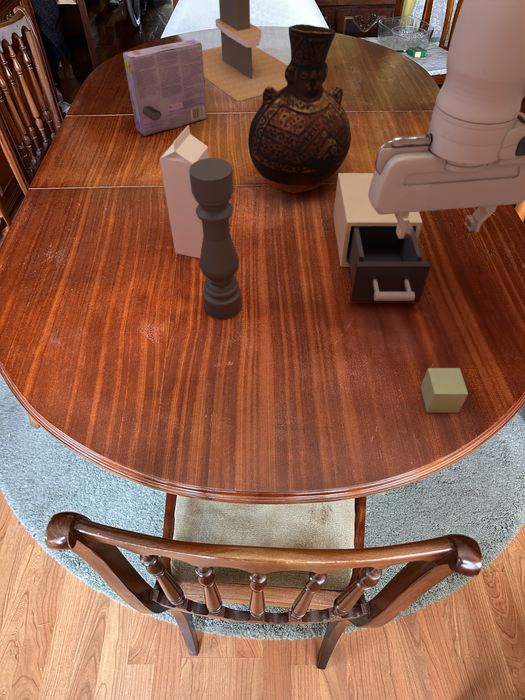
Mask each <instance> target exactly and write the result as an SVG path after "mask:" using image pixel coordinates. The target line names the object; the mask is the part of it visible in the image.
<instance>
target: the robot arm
mask: <svg viewBox="0 0 525 700" xmlns="http://www.w3.org/2000/svg"><path fill="white" fill-rule="evenodd" d="M445 64H446V72H445V73H446V74H445V78H444V81H443V84H442V86H441V87H440V88H439V89H440V90H439V91H438V93H437V95H436V98H435V103H434V105H433V106H434V107H433V111H432V113H431V117H430V122H429V126H428V129H427V133H424V134H415V135H408V136H404V135H396V136H393V137H391V139H390V140H388V141H386V142H384V143H383V144H382V145H380V146H379V147H378V149H377V151H376V156H375V163H374V168H375V169H374V172H373V173H374V174H373V177H372V181H371V184H370V188H369V193H368V197H369V200H370V203H371V205H372V206H373V208H374V209H375V211H376V212H377V213H378V214H380V215H384V214H395V217H396V219H397V221H398V224H397V229H396V234H397V236H398V238H399V239H402V238H410V237H411V233H412V231H413V227H412V225H410V222H409V220H405V221H404V219H403V218H408V216H409V212H419V213H420V212H431V211H432V212H433V211H444V210H445V211H447V210H457V209H469V208H471V209H472V208H477V209H476V210H475V211H474V212H473V213H472V214H467V215H465V218H464V222H463V225H462V227H463V230H465V233H467V234H468V233H479V231H480V229H481V226H482V224H483V223H484V222H485V221H486V220H487V219H489V218H490V217H491V216H492V215H493V214H494V213H495V212H496V210H497V208H498V206H507V205H520V204H522V203H523V202H524V201H525V113H524V112H522V111H521V109H522V101H523V99H524V98H525V0H463V1H462V3H461V7H460V9H459V13H458V16H457V19H456V22H455V25H454V29H453V32H452V36H451V40H450V43H449V47H448V51H447V55H446V63H445Z"/></svg>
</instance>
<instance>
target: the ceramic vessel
mask: <svg viewBox="0 0 525 700" xmlns="http://www.w3.org/2000/svg"><path fill="white" fill-rule="evenodd" d="M335 36H336V31H335V30H334V29H333V28H327V27H324V26H316V25H311V24H304V23H303V24H302V23H300V24H294V25H290V26H289V27H288V38H289V44H290V61H289V63H288V64H287V65H288V66H287V68H286V70H285V79H286V81H287V86H286V87H284V88H282V89H281V90H278V91H277V90H275V89H274V88H273V87H271V86H267V87H266V88H265V89H264V92H263V95H262V101H261V102H262V103H261V106H259V108H258V109H257V111H256V112H255V114H254V116H253V118H252V119H251V121H250V125H249V130H248V138H247V139H248V141H247V142H248V152H249V156H250V159H251V161H252V164H253V166H254V168H255V170H256V171H257V172H258V174H259V175H260V176H261V177H262V179H263V180H265V182H266V183H268V184H269V185H271V186H272V187H274V188H275V189H278V190H280V191H283V192H286V193H293V194H297V193H305V192H309V191H312V190H315V189H316V188H318V187H319V186H321V185H322V184H325V182H327V181H328V180H329V179H331V178H332V177H333V176H334V175H335V174H336V173H337V171H339V169H340V167H342V165H343V163H344V162H345V159H346V158H347V156H348V154H349V151H350V148H351V144H352V132H351V124H350V120H349V117H348V116H347V113H346V111H345V109H344V108H343V106H342V101H343V96H344V89H343V88H342V87H339V86H335V87H333V88H330V89H326V88H324V87H323V84H324V83H325V81H326V79H327V77H328V70H329V66H328V63H327V62H326V60H327V58H328V54H329V50H330V48H331V46H332V43H333V41H334V39H335Z"/></svg>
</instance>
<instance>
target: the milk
mask: <svg viewBox="0 0 525 700" xmlns="http://www.w3.org/2000/svg"><path fill="white" fill-rule="evenodd" d="M209 155H210V154H209V147H208V146H207V145H206V144H205V143H204V142H202V141H201V140H200V139H198V138H196V136H194V135H193V134H191V129H190V125H187V126H186V127H185V128H184V129H183V130H182V131H181V133H180V134H179V135H178V136H177V137H176V139H174V141H173V143H172V144H171V145H169V147H168V148H167V150H166V151H165V152H164V153H163V154H162V155H161V156H160V158H159V165H160V170H161V177H162V181H163V182H162V183H163V189H164V194H165V201H166V205H167V212H168V218H169V223H170V230H171V236H172V242H173V248H174V253H175V254H177V255H182V256H185V257H186V256H187V257H192V258H196V259H200V255H201V249H202V242H203V227H202V220H200V219H199V218H198V216H197V214H196V207H197V206H198V205H199V204H198V202H197V201H196V199H195V198H194V196H193V194H192V191H191V183H190V175H189V169H190V166H191V165H192V164H193V163H194V162H197V161H199V160H201V159H207V158H210V156H209Z"/></svg>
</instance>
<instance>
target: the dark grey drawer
mask: <svg viewBox="0 0 525 700" xmlns="http://www.w3.org/2000/svg"><path fill="white" fill-rule="evenodd" d="M412 227H413V226H412ZM396 229H397V226H351V231H350V237H349V244H348V250H347V255H348V261H349V267H348V268H349V273H350V279H351V290H350V295H349V299H350V303H355V304H356V303H359V304H361V303H363V304H364V303H367V304H368V303H371V304H372V303H373V304H374V303H379V304H380V303H381V304H382V303H385V304H387V303H388V304H389V303H392V304H393V303H395V304H396V303H399V304H401V303H402V304H403V303H404V304H405V303H406V304H408V303H409V304H410V303H411V304H412V303H420V302H421V298H422V296H423V295H422V294H423V291H424V289H425V286H426V282H427V279H428V276H429V273H430V270H431V264H430V263H431V262H430V261H428V260H427V261H426V260H425V261H423V254H422V251H421V247H420V244H419V240H418V241H417V238H416V235H415V231H414V228H413V231H412V233H411V237H410V238H402V239H399V238H398V236H397V234H396Z"/></svg>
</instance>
